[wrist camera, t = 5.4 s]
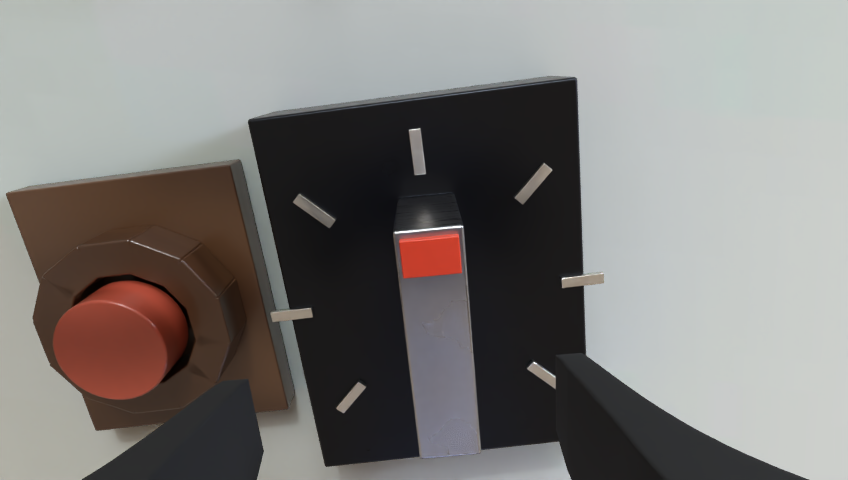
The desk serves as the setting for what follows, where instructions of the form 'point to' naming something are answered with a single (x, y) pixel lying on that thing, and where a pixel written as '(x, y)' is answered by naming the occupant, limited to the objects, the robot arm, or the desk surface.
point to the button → (121, 340)
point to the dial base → (376, 263)
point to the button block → (162, 276)
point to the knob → (437, 324)
